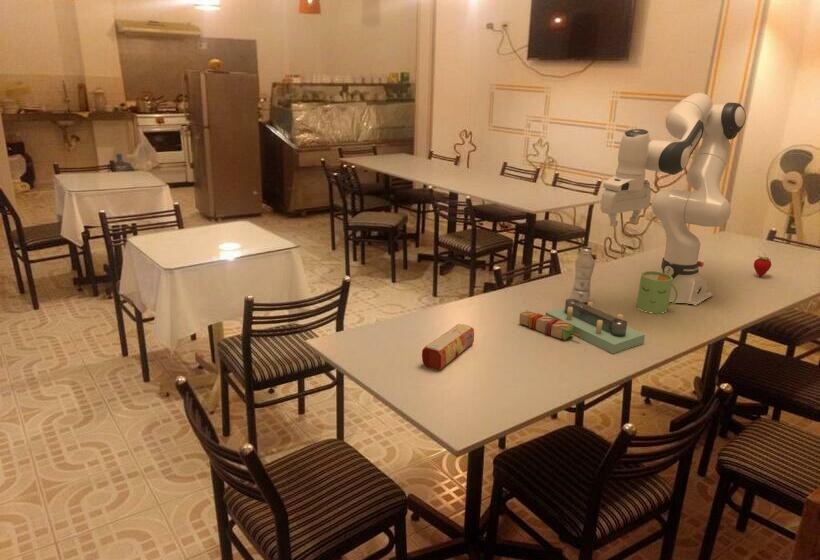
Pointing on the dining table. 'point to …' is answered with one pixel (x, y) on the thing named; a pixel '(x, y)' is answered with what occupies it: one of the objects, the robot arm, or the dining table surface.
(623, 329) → the long charcoal rail
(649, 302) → the mug
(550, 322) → the skewer
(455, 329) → the snack package
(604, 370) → the dining table surface
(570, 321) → the peg rack
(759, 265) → the strawberry
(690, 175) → the robot arm
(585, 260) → the plastic bottle
